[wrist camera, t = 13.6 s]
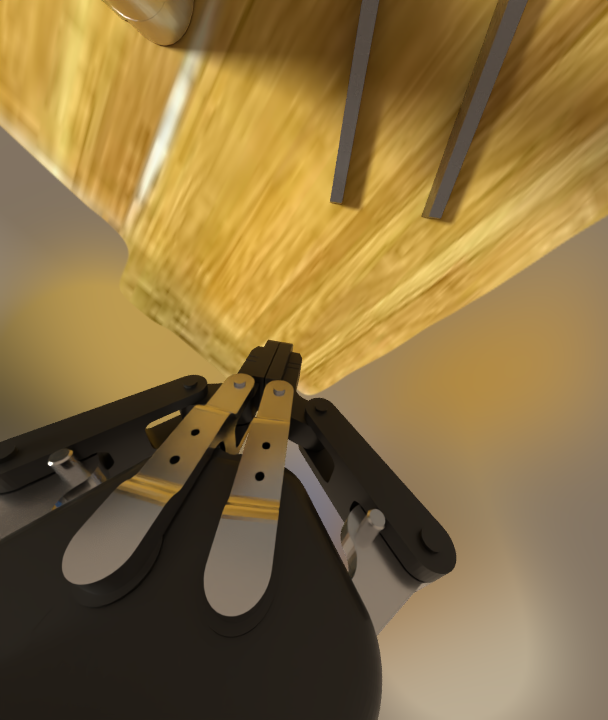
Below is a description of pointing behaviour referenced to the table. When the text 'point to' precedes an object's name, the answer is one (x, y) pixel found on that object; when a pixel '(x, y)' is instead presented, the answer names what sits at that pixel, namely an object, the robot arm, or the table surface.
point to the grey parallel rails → (469, 113)
